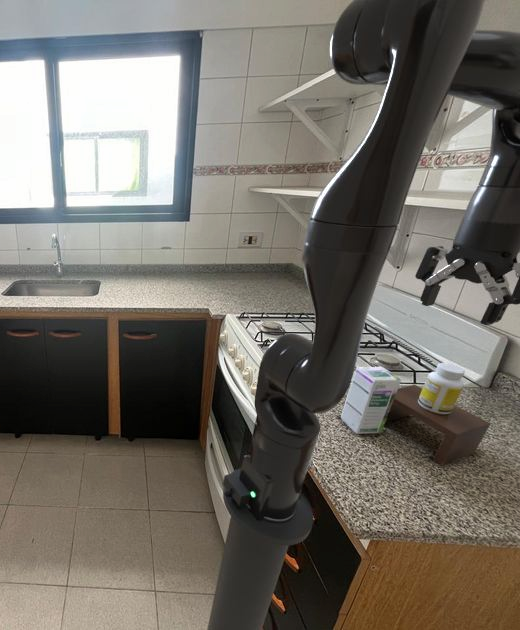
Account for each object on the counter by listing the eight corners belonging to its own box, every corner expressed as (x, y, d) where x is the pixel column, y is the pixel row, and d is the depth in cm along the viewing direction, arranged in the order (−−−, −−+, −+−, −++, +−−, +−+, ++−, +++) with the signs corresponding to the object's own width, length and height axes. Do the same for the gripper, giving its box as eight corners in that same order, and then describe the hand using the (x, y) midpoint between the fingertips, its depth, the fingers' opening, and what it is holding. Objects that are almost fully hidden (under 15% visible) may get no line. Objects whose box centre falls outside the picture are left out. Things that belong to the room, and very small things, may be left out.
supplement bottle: (451, 407, 74) (470, 367, 70) (449, 419, 70) (470, 378, 66) (418, 396, 77) (435, 358, 73) (415, 407, 74) (432, 367, 70)
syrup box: (356, 434, 77) (376, 380, 72) (339, 417, 83) (356, 365, 77) (381, 434, 78) (403, 380, 72) (362, 416, 83) (381, 364, 77)
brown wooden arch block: (441, 465, 70) (457, 434, 66) (372, 420, 82) (383, 392, 79) (474, 453, 72) (491, 423, 69) (402, 411, 84) (414, 384, 81)
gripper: (428, 213, 58) (396, 302, 65) (549, 226, 46) (494, 334, 52) (458, 211, 60) (424, 297, 67) (582, 222, 48) (525, 328, 54)
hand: (455, 314), depth 59 cm, fingers open, 8 cm apart
